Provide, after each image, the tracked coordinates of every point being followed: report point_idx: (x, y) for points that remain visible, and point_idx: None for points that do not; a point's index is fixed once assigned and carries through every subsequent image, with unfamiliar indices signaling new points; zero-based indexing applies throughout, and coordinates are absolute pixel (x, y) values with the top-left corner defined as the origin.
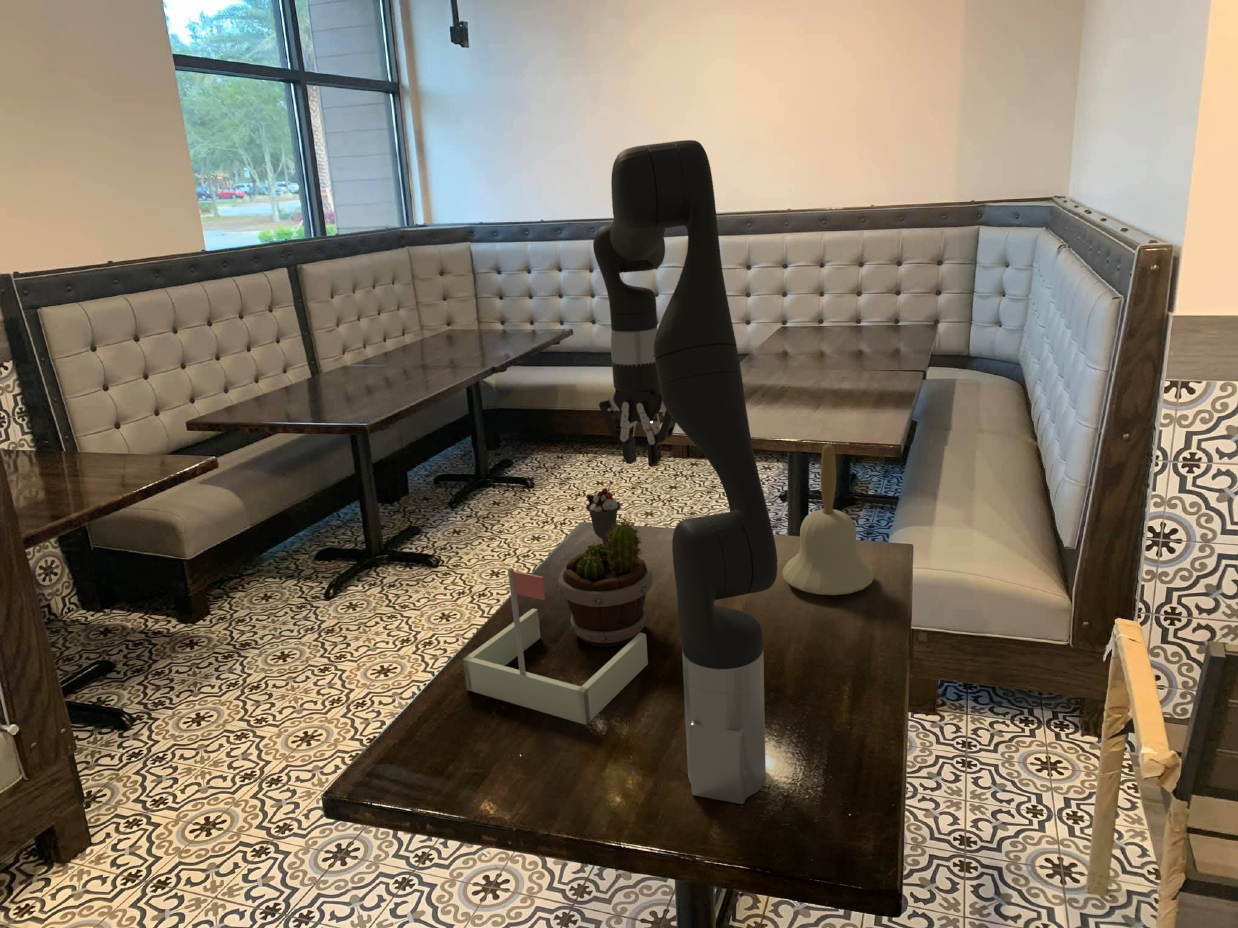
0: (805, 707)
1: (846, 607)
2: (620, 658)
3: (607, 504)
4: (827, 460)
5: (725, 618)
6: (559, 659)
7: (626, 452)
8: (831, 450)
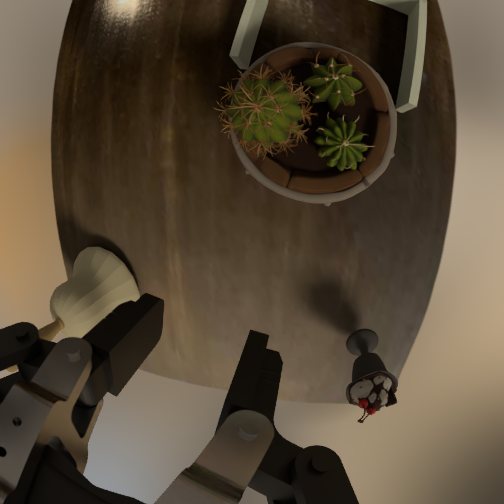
0: (97, 61)
1: (86, 237)
2: (245, 5)
3: (365, 388)
4: None
5: None
6: None
7: (254, 365)
8: None
